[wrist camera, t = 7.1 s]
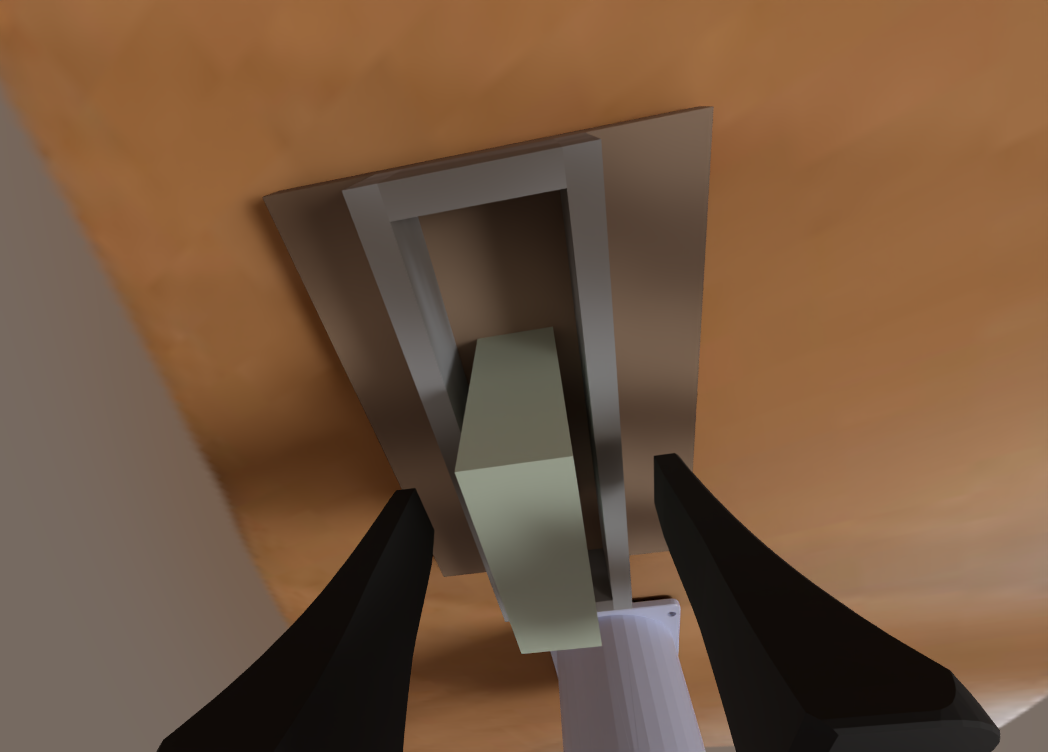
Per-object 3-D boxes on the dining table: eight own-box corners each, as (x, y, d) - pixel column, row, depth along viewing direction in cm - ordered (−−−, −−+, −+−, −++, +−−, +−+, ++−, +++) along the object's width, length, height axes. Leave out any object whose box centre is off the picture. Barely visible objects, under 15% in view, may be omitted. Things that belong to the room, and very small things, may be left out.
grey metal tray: (681, 530, 21) (708, 600, 18) (446, 558, 22) (435, 629, 19) (698, 106, 11) (762, 106, 8) (279, 190, 12) (204, 217, 9)
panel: (578, 494, 18) (602, 646, 13) (520, 501, 18) (521, 654, 13) (552, 326, 14) (573, 455, 9) (477, 338, 14) (454, 472, 9)
